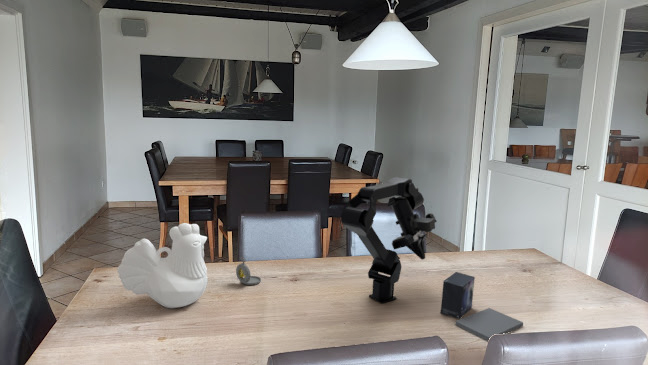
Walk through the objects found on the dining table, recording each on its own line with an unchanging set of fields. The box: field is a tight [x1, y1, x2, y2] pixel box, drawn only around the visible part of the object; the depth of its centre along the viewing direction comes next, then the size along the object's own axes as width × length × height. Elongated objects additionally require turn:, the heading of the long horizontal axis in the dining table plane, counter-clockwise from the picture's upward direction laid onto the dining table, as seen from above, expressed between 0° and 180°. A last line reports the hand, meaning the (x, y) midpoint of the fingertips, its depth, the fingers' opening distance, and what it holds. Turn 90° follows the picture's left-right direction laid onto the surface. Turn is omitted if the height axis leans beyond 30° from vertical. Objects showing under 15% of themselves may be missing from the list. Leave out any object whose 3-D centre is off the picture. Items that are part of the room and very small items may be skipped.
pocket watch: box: [235, 256, 262, 286], centre depth 150 cm, size 8×8×10 cm
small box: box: [439, 271, 476, 320], centre depth 132 cm, size 11×6×10 cm, turn 143°
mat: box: [454, 307, 524, 342], centre depth 124 cm, size 16×11×1 cm
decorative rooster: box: [116, 222, 209, 309], centre depth 131 cm, size 25×16×25 cm, turn 107°
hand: (423, 259), depth 142 cm, fingers closed
